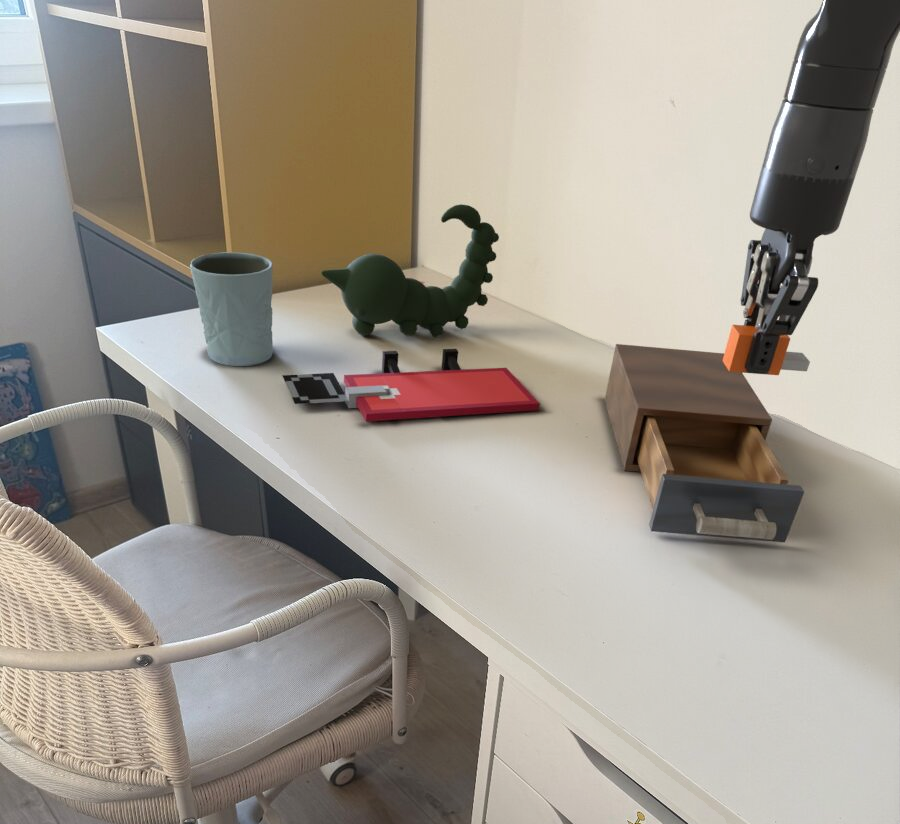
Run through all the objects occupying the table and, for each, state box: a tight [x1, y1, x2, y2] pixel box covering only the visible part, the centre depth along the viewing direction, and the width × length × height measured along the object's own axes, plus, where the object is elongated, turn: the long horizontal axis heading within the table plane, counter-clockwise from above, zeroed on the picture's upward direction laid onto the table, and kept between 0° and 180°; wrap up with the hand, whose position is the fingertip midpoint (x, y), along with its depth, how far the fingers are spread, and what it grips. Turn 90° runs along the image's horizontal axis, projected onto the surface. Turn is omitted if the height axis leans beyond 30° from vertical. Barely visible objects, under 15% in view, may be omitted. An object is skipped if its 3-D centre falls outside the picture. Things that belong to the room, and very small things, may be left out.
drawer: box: [635, 415, 805, 543], centre depth 86 cm, size 23×13×6 cm, turn 178°
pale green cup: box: [189, 251, 274, 367], centre depth 109 cm, size 10×10×12 cm
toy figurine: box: [320, 204, 500, 338], centre depth 119 cm, size 9×19×25 cm
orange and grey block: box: [723, 324, 811, 376], centre depth 79 cm, size 7×3×4 cm, turn 88°
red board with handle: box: [282, 348, 541, 422], centre depth 105 cm, size 30×3×15 cm
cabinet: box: [604, 343, 773, 473], centre depth 99 cm, size 20×15×8 cm
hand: (751, 364), depth 80 cm, fingers closed on orange and grey block, 2 cm apart
